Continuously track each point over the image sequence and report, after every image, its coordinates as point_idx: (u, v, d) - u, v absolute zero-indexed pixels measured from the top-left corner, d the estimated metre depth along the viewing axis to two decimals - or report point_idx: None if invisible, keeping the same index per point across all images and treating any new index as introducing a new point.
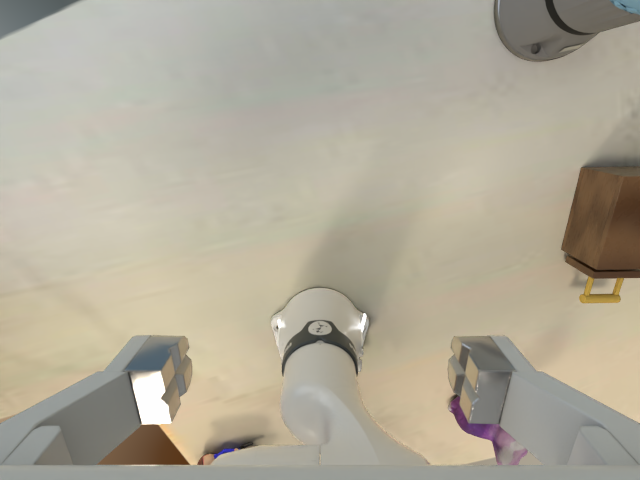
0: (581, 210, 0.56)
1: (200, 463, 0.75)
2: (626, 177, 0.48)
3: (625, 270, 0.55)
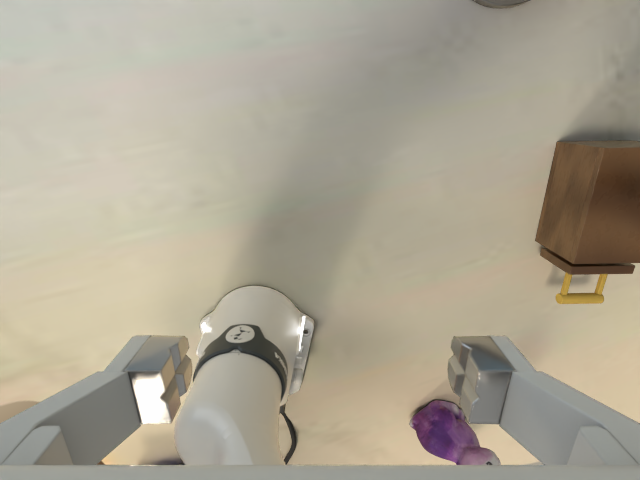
0: (557, 193, 0.47)
1: None
2: (607, 149, 0.39)
3: (608, 264, 0.46)
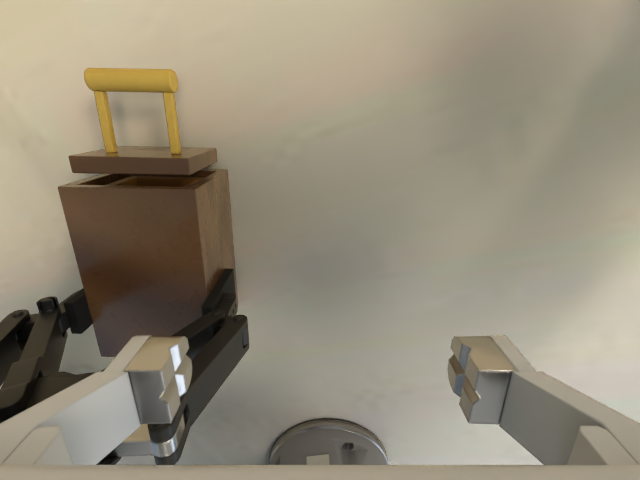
0: (227, 258, 0.32)
1: None
2: None
3: None
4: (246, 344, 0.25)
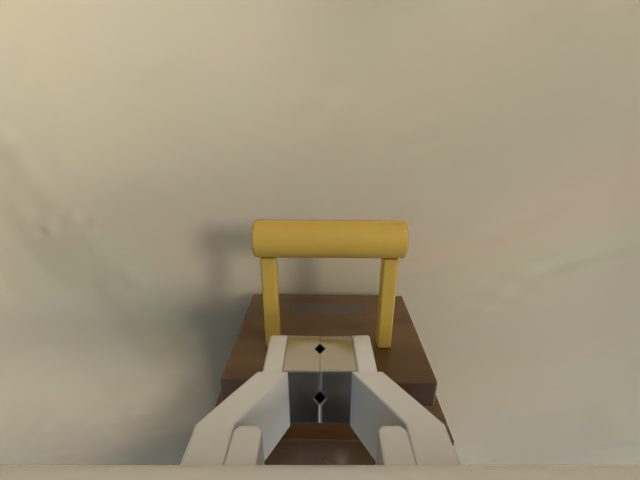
0: None
1: None
2: None
3: None
4: None
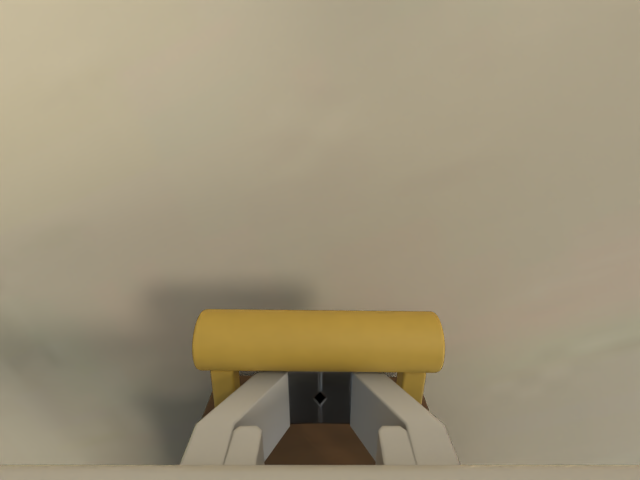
0: None
1: None
2: None
3: None
4: None
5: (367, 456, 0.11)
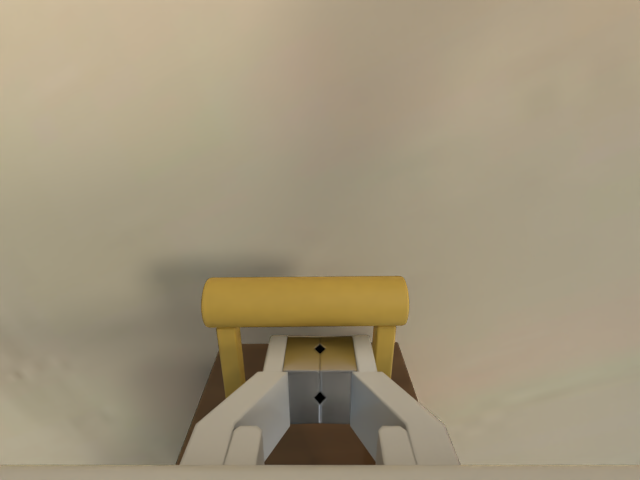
0: None
1: None
2: None
3: None
4: None
5: None
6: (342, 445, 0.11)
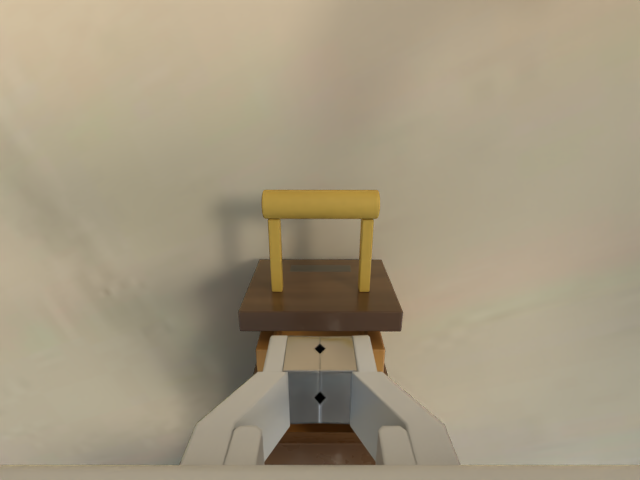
0: None
1: None
2: None
3: None
4: None
5: (348, 283, 0.20)
6: (341, 298, 0.19)
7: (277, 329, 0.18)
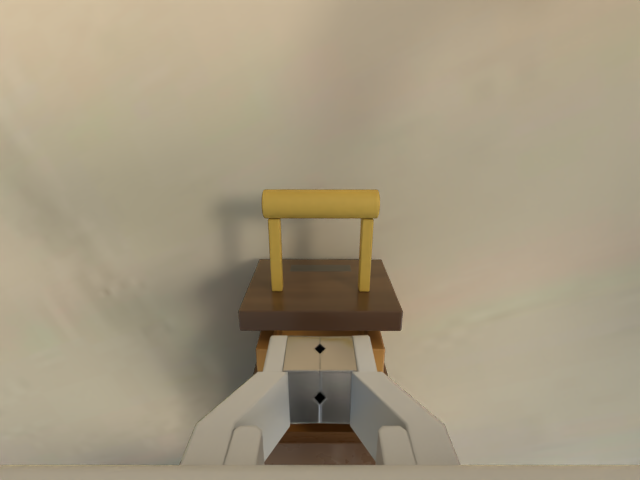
0: None
1: None
2: None
3: None
4: None
5: (348, 283, 0.20)
6: (341, 298, 0.19)
7: (277, 328, 0.18)
